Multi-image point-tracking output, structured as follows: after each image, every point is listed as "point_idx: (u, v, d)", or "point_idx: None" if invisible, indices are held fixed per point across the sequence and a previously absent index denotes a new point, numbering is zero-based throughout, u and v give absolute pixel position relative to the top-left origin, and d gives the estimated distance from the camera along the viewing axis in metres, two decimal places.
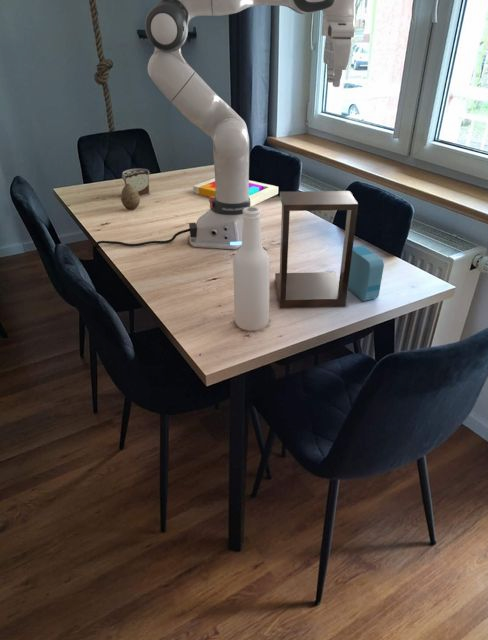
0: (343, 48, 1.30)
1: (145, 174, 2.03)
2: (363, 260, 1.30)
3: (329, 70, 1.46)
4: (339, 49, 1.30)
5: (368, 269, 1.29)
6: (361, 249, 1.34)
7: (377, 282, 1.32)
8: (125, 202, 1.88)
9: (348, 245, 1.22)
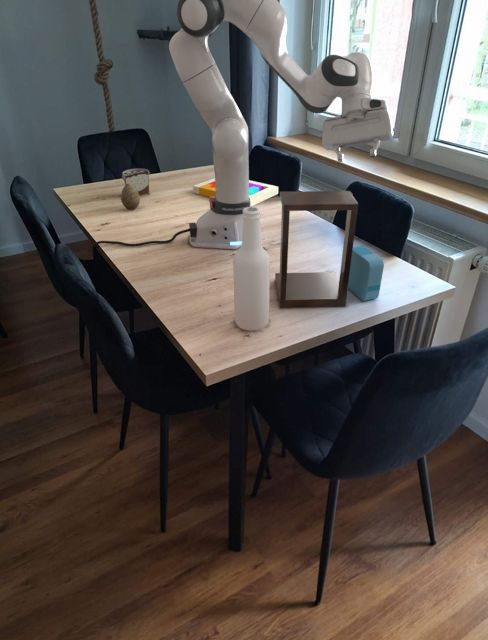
0: (390, 119, 1.37)
1: (145, 174, 2.03)
2: (363, 260, 1.30)
3: (337, 150, 1.42)
4: (390, 118, 1.36)
5: (368, 269, 1.29)
6: (361, 249, 1.34)
7: (377, 282, 1.32)
8: (125, 202, 1.88)
9: (348, 245, 1.22)
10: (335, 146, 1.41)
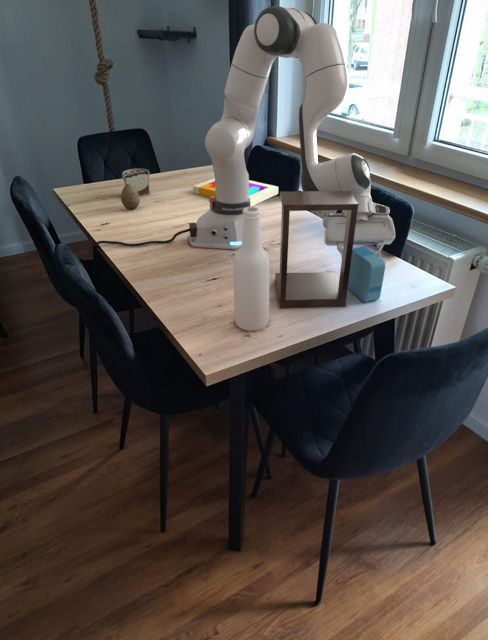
0: None
1: (145, 174, 2.03)
2: (364, 261, 1.30)
3: None
4: None
5: (369, 270, 1.28)
6: (362, 250, 1.34)
7: (379, 283, 1.31)
8: (125, 202, 1.88)
9: (348, 245, 1.22)
10: (340, 243, 1.38)
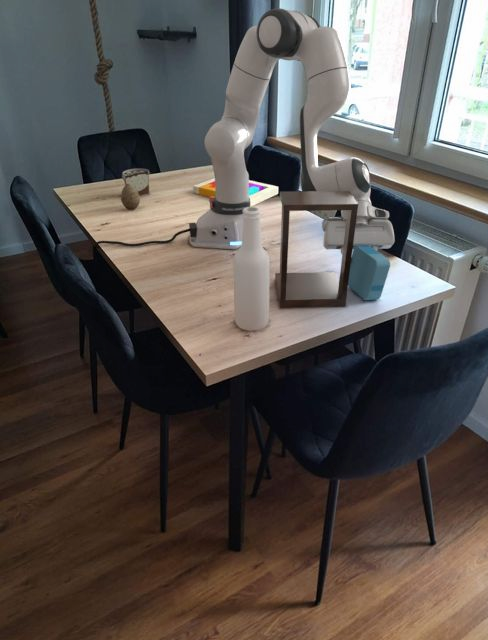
0: None
1: (145, 174, 2.03)
2: (370, 258, 1.30)
3: None
4: None
5: (375, 267, 1.28)
6: (367, 249, 1.34)
7: (381, 282, 1.31)
8: (125, 202, 1.88)
9: (348, 245, 1.22)
10: None
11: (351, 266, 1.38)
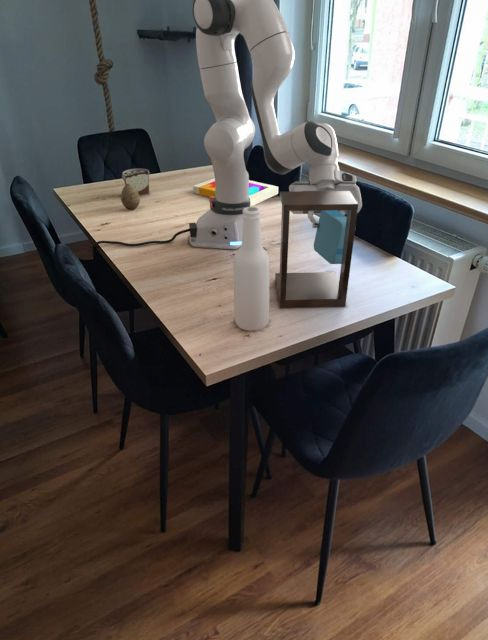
0: None
1: (145, 174, 2.03)
2: (335, 221, 1.29)
3: None
4: None
5: (340, 230, 1.27)
6: (334, 212, 1.33)
7: None
8: (125, 202, 1.88)
9: (348, 245, 1.22)
10: (310, 211, 1.36)
11: (318, 231, 1.37)
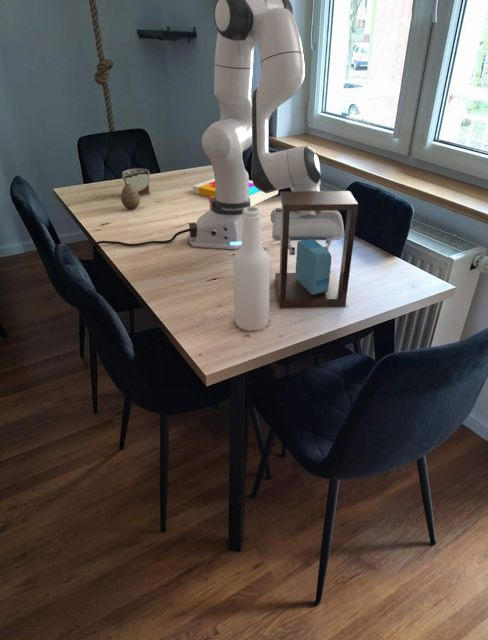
0: None
1: (145, 174, 2.03)
2: (310, 253, 1.27)
3: None
4: None
5: (315, 262, 1.26)
6: (310, 243, 1.32)
7: (325, 275, 1.29)
8: (125, 202, 1.88)
9: (348, 245, 1.22)
10: None
11: (297, 261, 1.36)
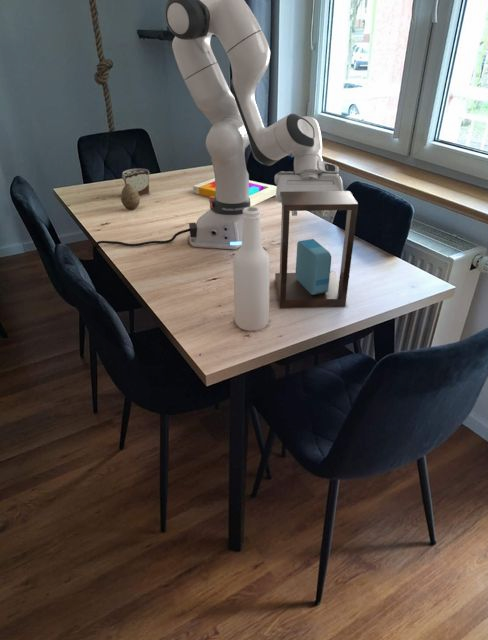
0: None
1: (145, 174, 2.03)
2: (310, 253, 1.27)
3: None
4: None
5: (315, 262, 1.26)
6: (310, 243, 1.32)
7: (325, 275, 1.29)
8: (125, 202, 1.88)
9: (348, 245, 1.22)
10: None
11: (297, 261, 1.36)
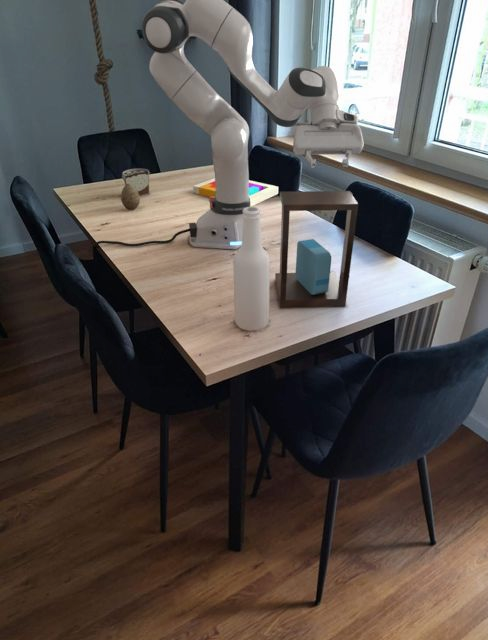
0: None
1: (145, 174, 2.03)
2: (310, 253, 1.27)
3: None
4: None
5: (315, 262, 1.26)
6: (310, 243, 1.32)
7: (325, 275, 1.29)
8: (125, 202, 1.88)
9: (348, 245, 1.22)
10: (308, 151, 1.38)
11: (297, 261, 1.36)
